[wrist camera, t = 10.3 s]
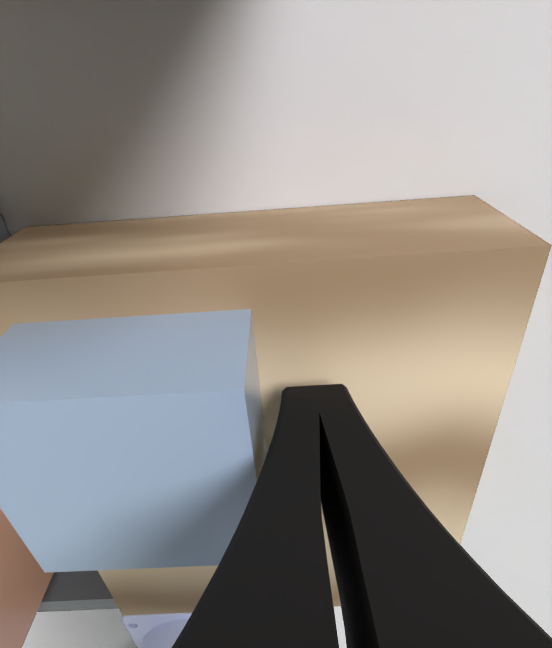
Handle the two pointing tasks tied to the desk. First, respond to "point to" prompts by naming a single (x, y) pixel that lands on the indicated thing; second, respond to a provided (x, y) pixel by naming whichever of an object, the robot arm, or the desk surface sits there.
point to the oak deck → (317, 324)
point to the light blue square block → (130, 438)
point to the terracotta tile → (18, 586)
